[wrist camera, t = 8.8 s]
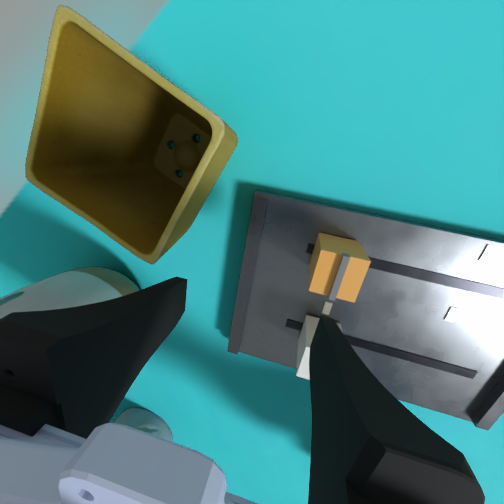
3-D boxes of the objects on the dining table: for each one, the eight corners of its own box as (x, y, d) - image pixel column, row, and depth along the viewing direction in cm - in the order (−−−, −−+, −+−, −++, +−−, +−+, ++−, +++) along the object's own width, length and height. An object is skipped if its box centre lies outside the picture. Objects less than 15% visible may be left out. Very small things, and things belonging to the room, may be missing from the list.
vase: (69, 249, 26) (-402, 426, 9) (157, 255, 24) (-233, 503, 7) (93, 330, 30) (-206, 567, 13) (171, 341, 28) (-58, 646, 10)
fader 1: (345, 276, 19) (355, 306, 15) (308, 267, 20) (308, 294, 16) (358, 240, 18) (372, 262, 14) (318, 231, 19) (321, 251, 15)
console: (473, 412, 23) (488, 434, 21) (230, 340, 26) (225, 353, 24) (593, 259, 17) (627, 271, 15) (257, 189, 20) (252, 192, 18)
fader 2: (330, 350, 22) (335, 392, 18) (297, 341, 23) (295, 380, 19) (340, 323, 21) (348, 361, 17) (306, 314, 21) (306, 349, 17)
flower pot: (263, 140, 19) (228, 123, 10) (209, 228, 22) (151, 269, 14) (168, 70, 18) (55, -4, 10) (129, 171, 22) (21, 177, 14)
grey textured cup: (180, 418, 33) (115, 549, 22) (176, 462, 36) (119, 592, 25) (112, 394, 34) (19, 507, 23) (116, 439, 38) (37, 554, 27)
